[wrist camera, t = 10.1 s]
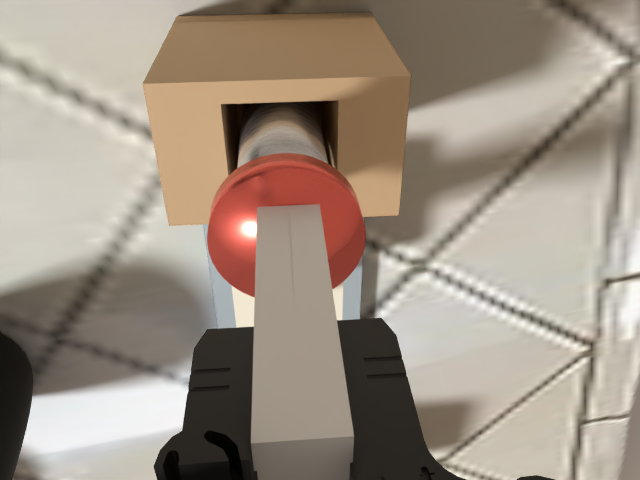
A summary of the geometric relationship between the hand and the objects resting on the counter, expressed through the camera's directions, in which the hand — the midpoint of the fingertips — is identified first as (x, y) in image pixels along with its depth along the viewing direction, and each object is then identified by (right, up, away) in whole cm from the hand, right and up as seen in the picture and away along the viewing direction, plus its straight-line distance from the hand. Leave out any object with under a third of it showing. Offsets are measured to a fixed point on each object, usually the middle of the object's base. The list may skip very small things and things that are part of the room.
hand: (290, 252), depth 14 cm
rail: (-1, -3, +18) cm, 19 cm away
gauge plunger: (-1, +5, +8) cm, 9 cm away
